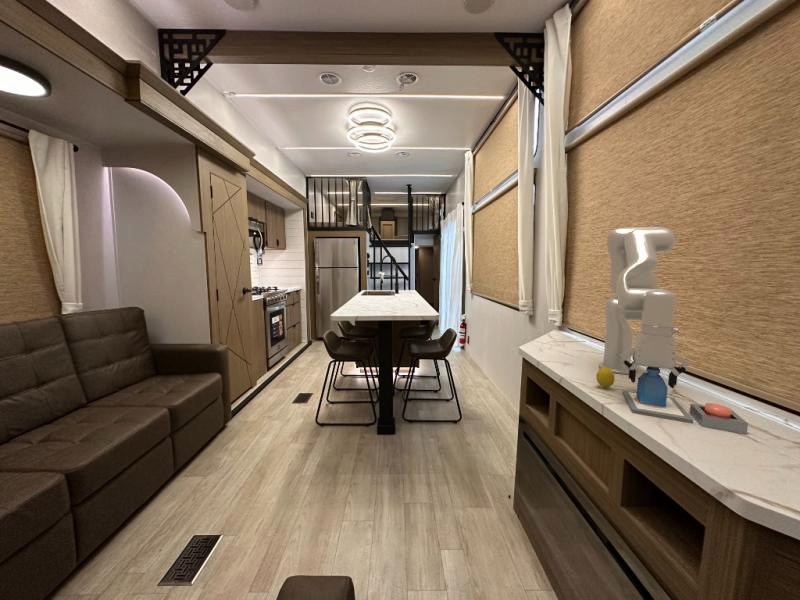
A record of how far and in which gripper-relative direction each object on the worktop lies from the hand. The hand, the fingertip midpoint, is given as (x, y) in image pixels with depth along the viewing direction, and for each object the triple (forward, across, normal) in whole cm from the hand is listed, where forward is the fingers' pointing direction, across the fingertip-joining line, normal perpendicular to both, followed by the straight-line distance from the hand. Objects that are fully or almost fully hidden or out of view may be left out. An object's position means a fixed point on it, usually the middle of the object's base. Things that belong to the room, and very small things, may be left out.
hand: (651, 383), depth 99 cm
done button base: (+7, -14, +5) cm, 17 cm away
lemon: (+7, +11, -11) cm, 17 cm away
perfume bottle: (+6, 0, 0) cm, 6 cm away
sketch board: (+7, -1, 0) cm, 7 cm away
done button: (+5, -14, +5) cm, 16 cm away
